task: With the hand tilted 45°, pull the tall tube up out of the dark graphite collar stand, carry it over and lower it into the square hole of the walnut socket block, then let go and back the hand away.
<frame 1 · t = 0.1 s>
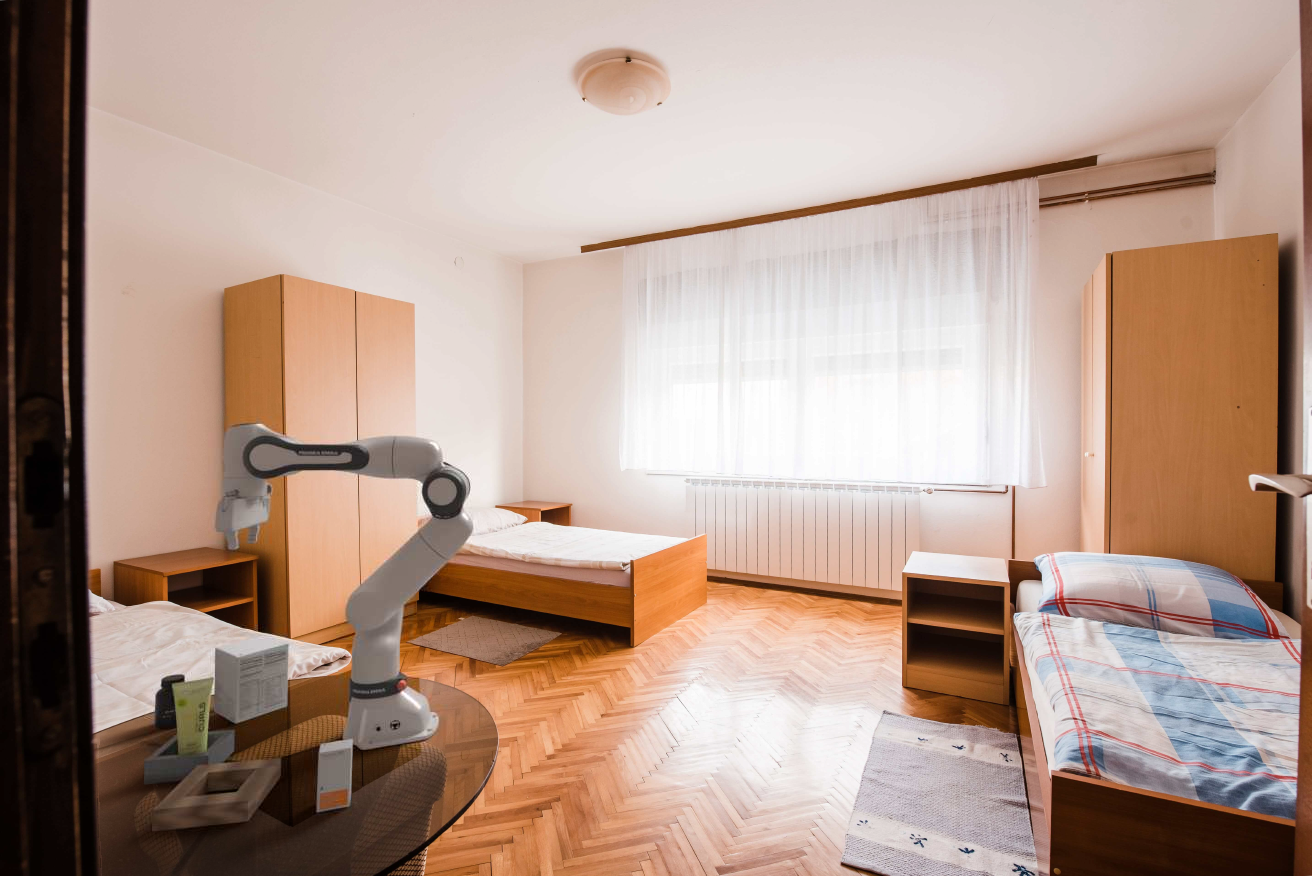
hand: (243, 545, 146), 48 cm above the table, tool pointing down, fingers open, 8 cm apart
tube: (191, 767, 135), resting in graphite collar stand
skincare box: (334, 805, 122), on the table
supplement box: (251, 709, 164), on the table
graphite collar stand: (191, 766, 135), on the table
supplement bottle: (171, 724, 155), on the table
walnut socket block: (221, 801, 122), on the table
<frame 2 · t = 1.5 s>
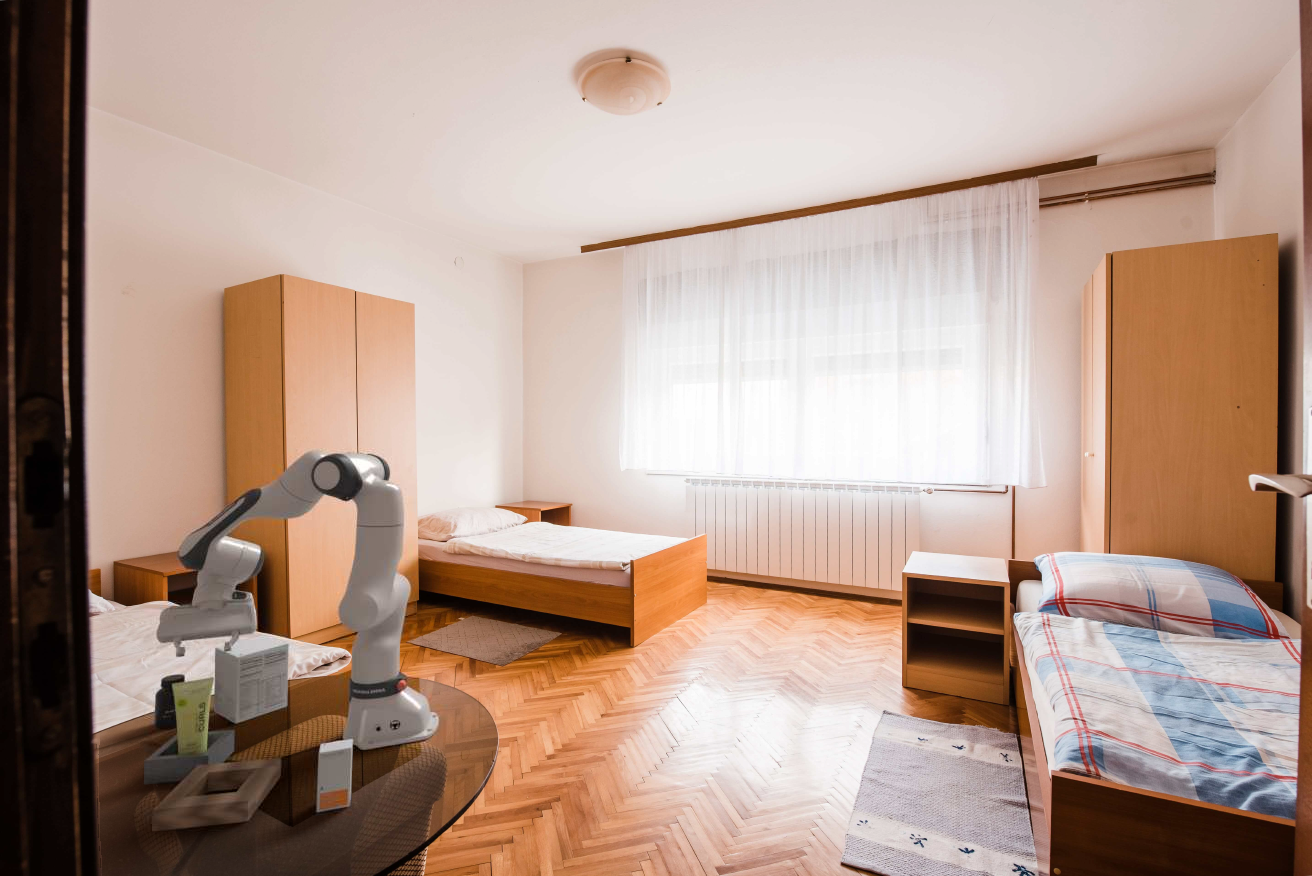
hand: (204, 652, 146), 22 cm above the table, tool tilted 45°, fingers open, 8 cm apart
nothing on the table moved.
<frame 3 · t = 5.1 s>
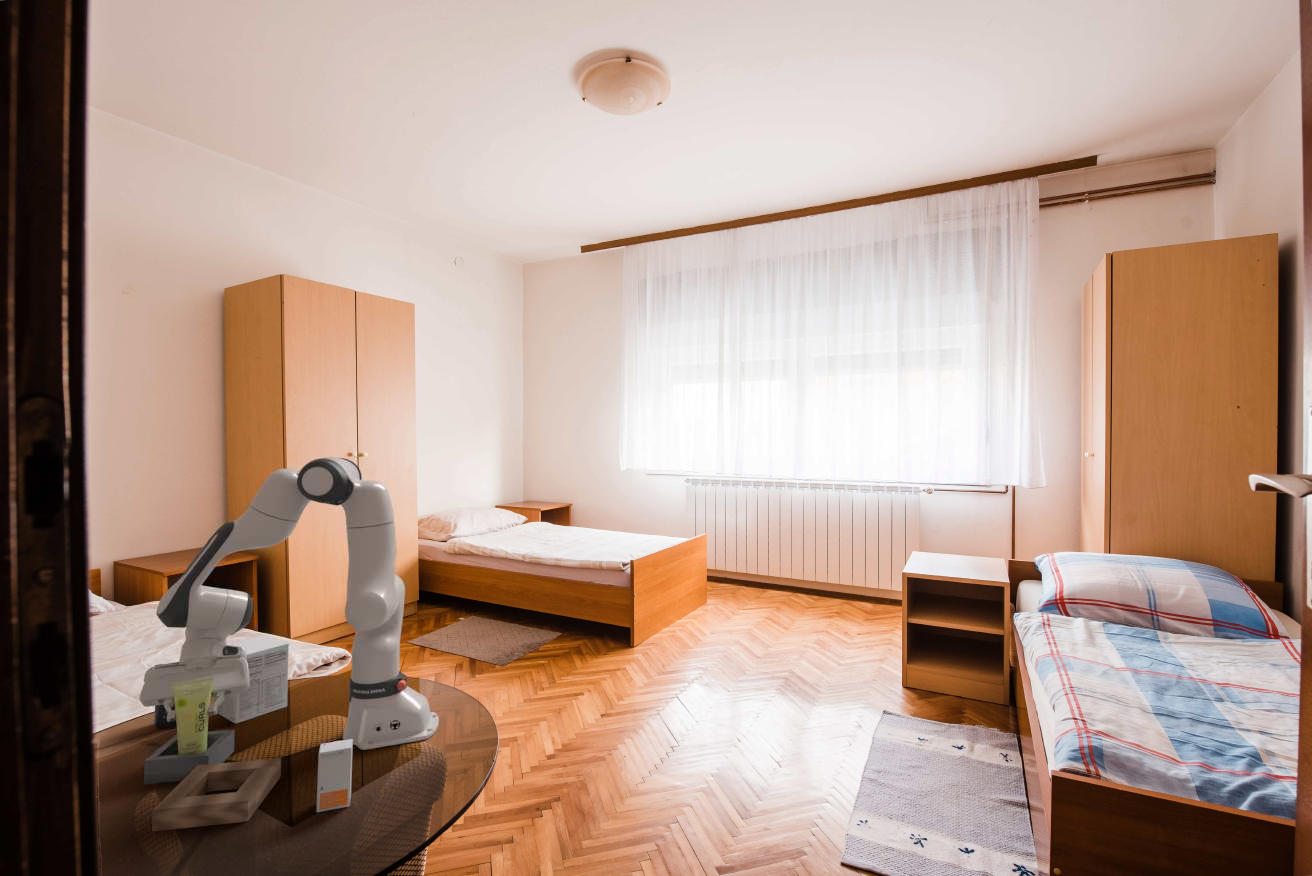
hand: (192, 717, 134), 11 cm above the table, tool tilted 45°, fingers closed on tube, 6 cm apart
tube: (191, 767, 135), resting in graphite collar stand, touching gripper
everything else where it was.
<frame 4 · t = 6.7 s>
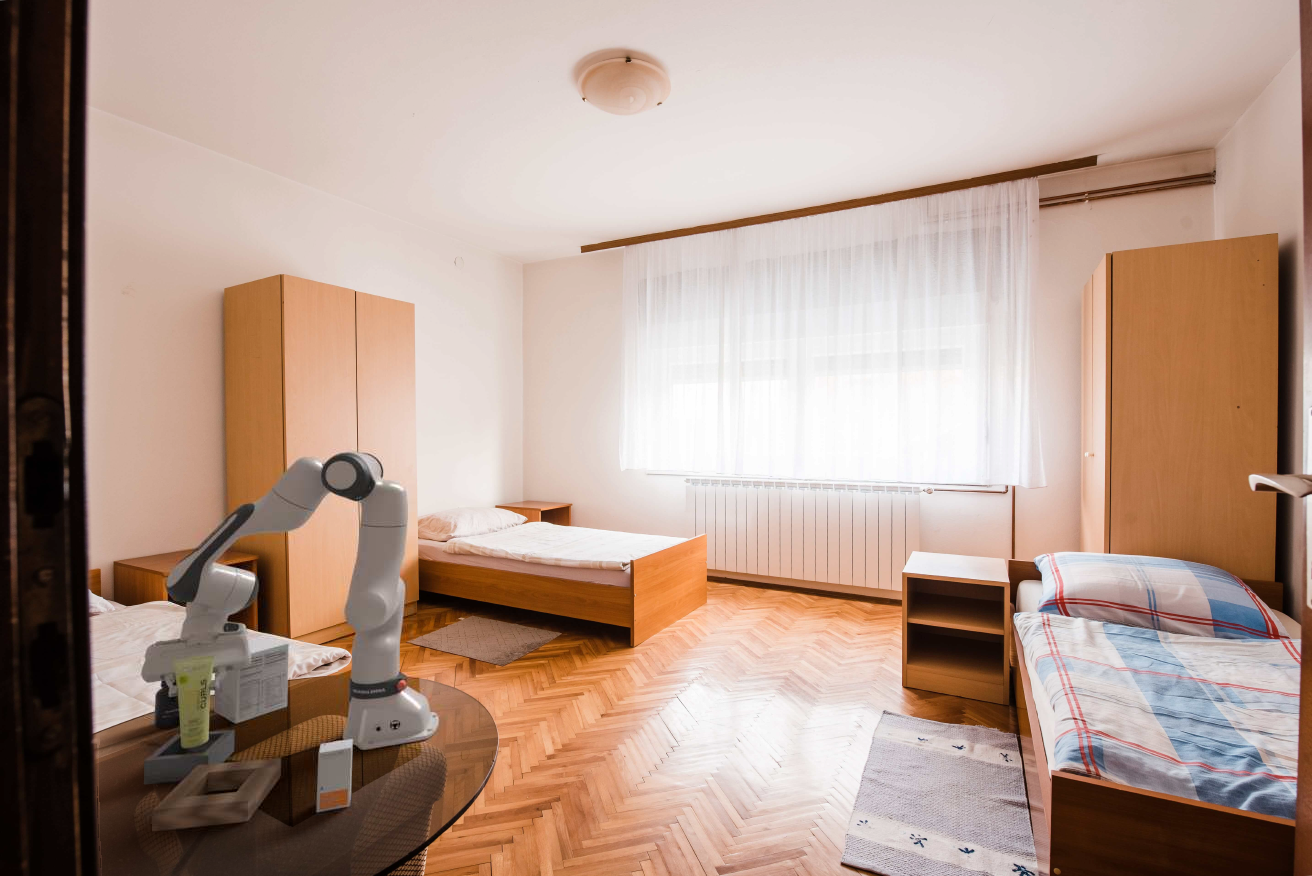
hand: (193, 692, 135), 17 cm above the table, tool tilted 45°, fingers closed on tube, 6 cm apart
tube: (193, 744, 135), point 5 cm above the table, touching gripper
everything else where it was.
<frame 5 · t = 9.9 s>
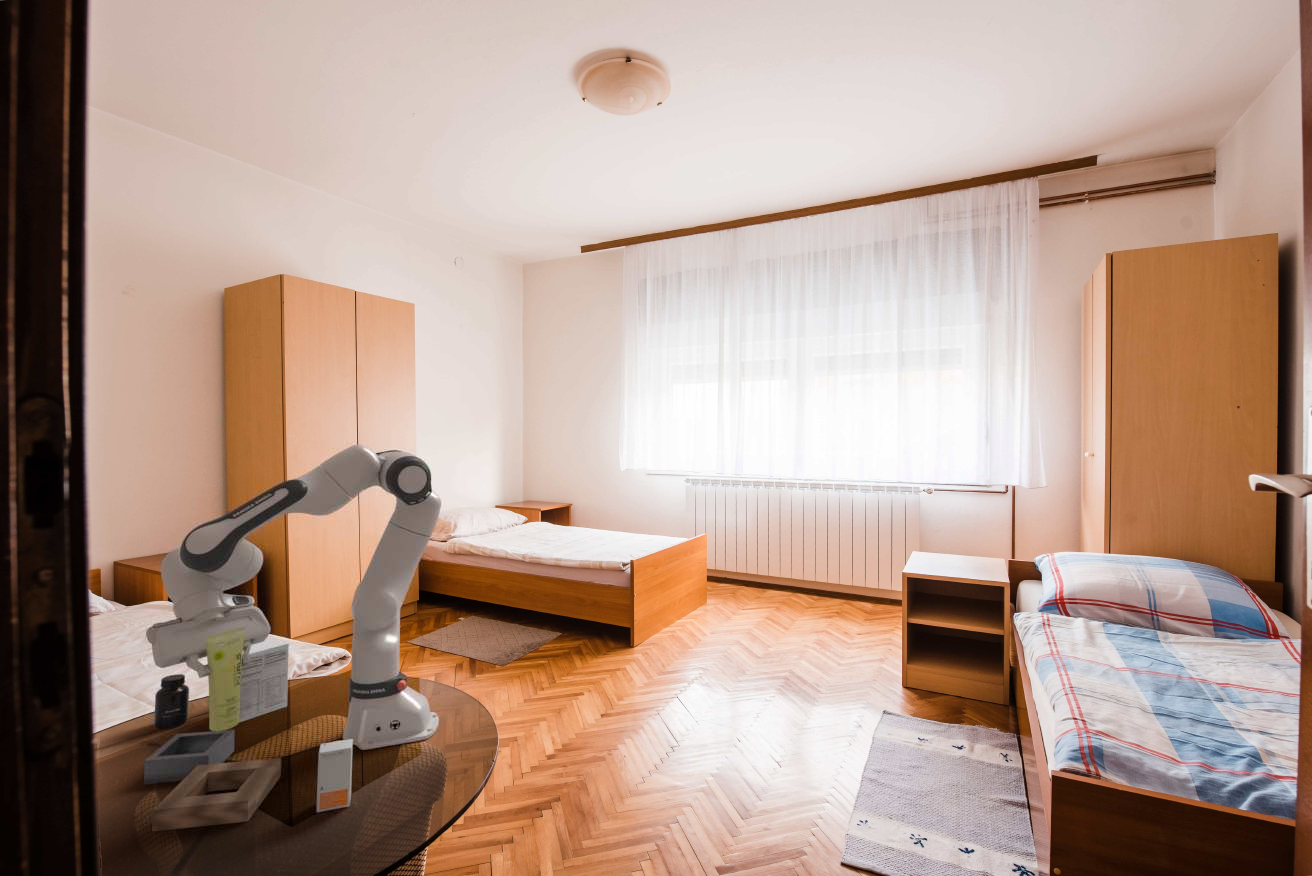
hand: (226, 669, 122), 27 cm above the table, tool tilted 45°, fingers closed on tube, 6 cm apart
tube: (223, 727, 122), point 15 cm above the table, touching gripper
everything else where it was.
when the fingers open (13 cm above the table, at t = 13.7 s): tube moves 2 cm, resting in walnut socket block.
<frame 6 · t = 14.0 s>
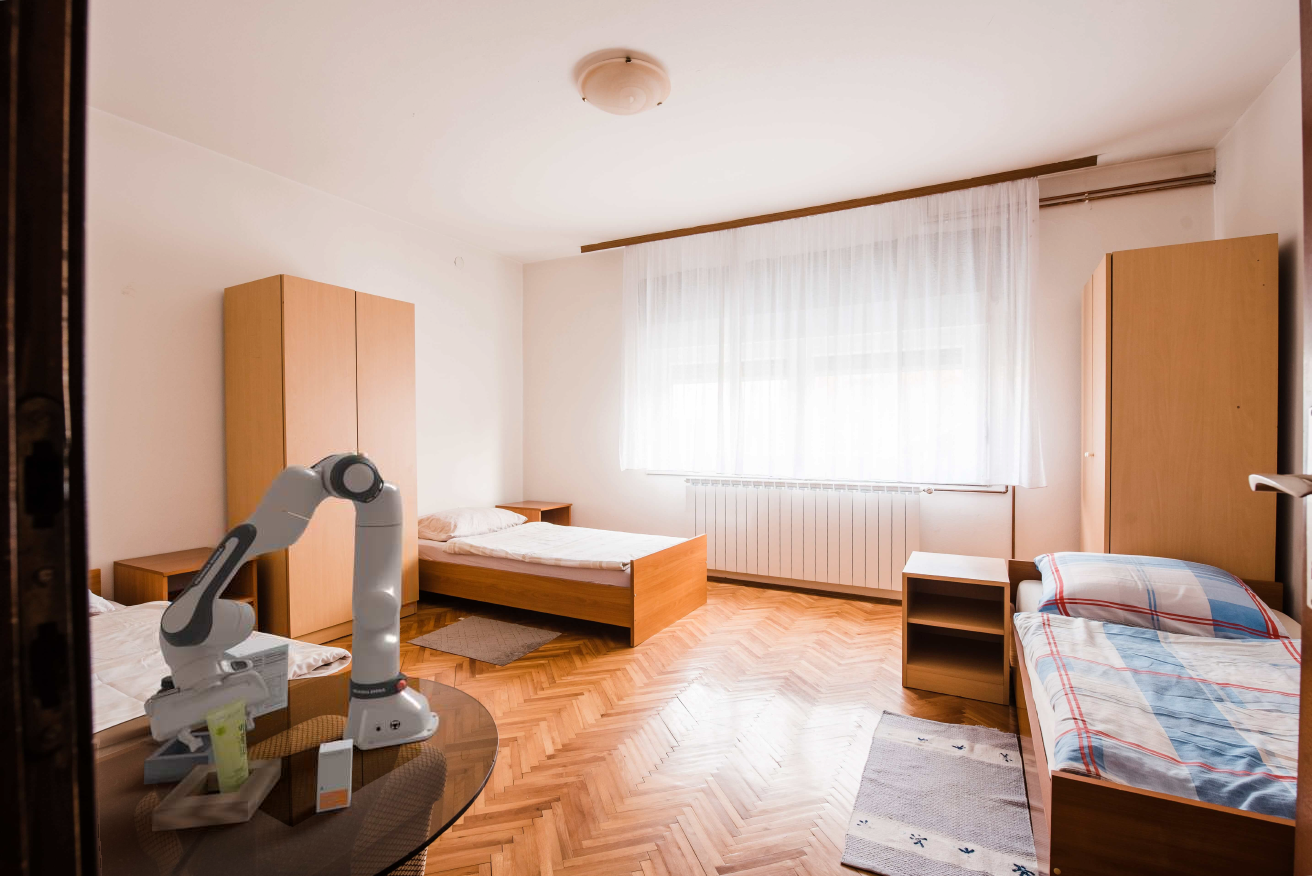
hand: (224, 739, 122), 13 cm above the table, tool tilted 45°, fingers open, 8 cm apart
tube: (234, 795, 124), resting in walnut socket block, touching gripper
everything else where it was.
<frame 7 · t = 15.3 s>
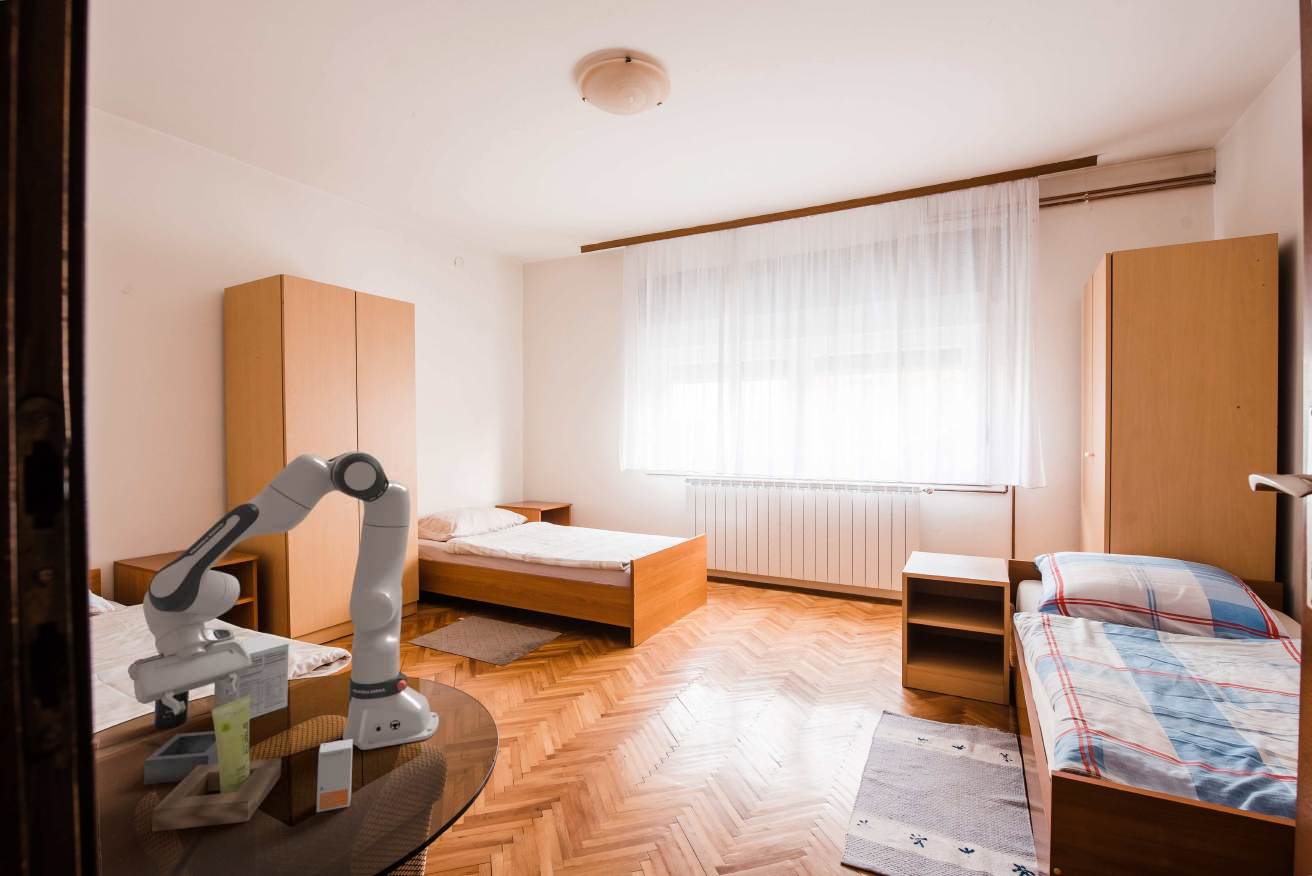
hand: (207, 703, 125), 19 cm above the table, tool tilted 45°, fingers open, 8 cm apart
tube: (234, 796, 124), resting in walnut socket block
everything else where it was.
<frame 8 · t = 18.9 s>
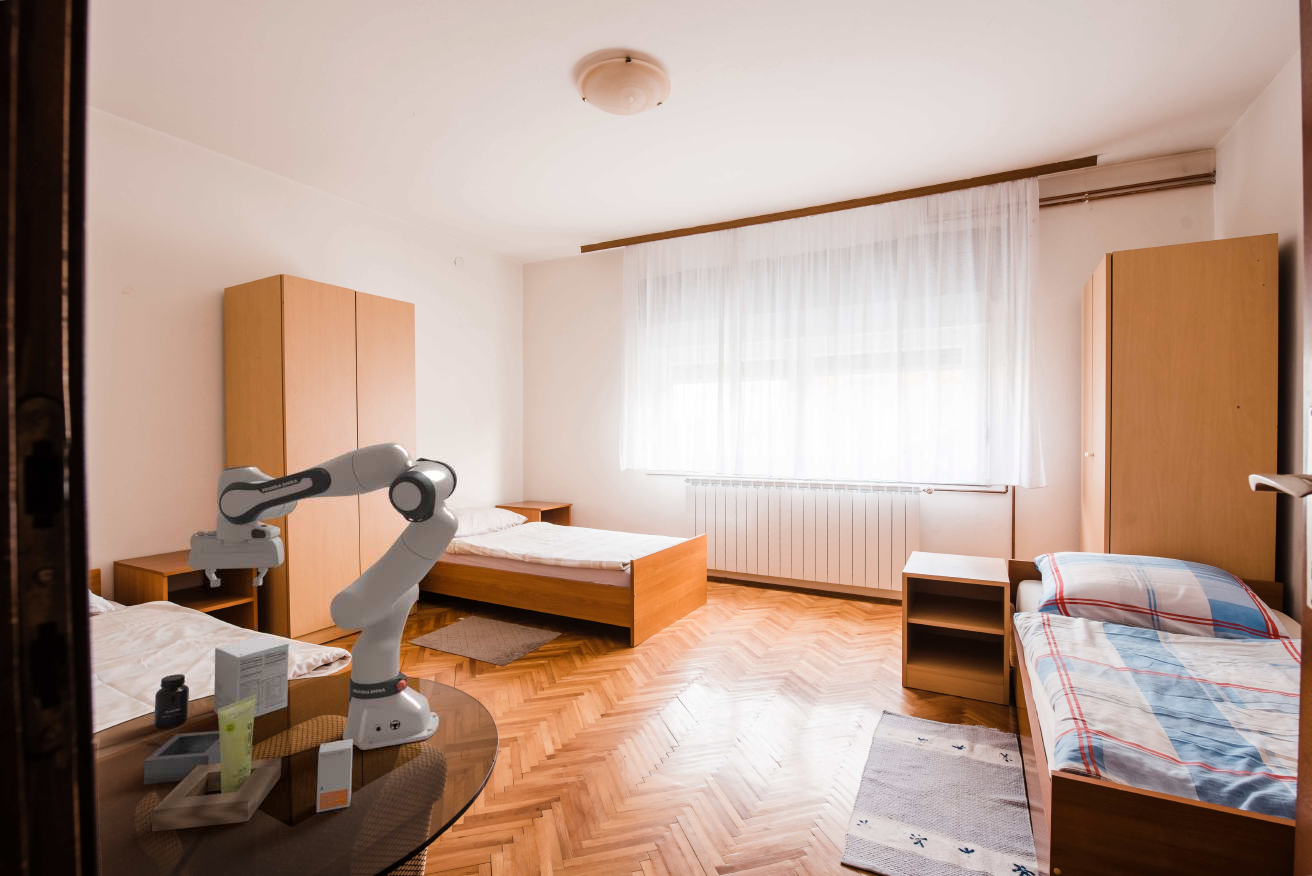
hand: (236, 585, 150), 37 cm above the table, tool pointing down, fingers open, 8 cm apart
at the end: tube 2.4 cm off-centre on the walnut socket block, point 0.0 cm above the walnut socket block's base; tube tilted 0°; the gripper is holding nothing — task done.
